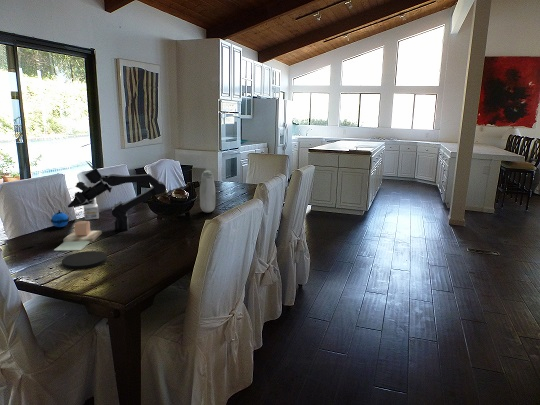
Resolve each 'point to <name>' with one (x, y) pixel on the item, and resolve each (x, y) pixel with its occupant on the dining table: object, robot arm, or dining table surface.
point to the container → (91, 211)
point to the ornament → (59, 219)
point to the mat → (72, 246)
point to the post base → (82, 237)
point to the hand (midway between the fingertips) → (70, 206)
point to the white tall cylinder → (207, 192)
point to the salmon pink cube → (82, 228)
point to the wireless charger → (84, 260)
